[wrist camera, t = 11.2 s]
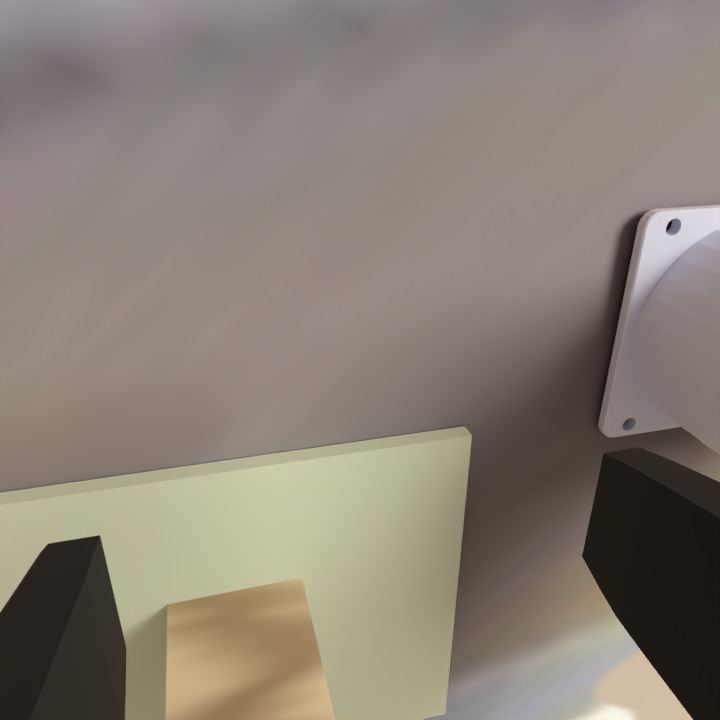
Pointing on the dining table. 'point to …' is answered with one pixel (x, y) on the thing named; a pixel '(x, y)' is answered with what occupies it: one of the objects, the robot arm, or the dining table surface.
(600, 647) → the dining table surface
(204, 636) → the birch block
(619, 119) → the dining table surface
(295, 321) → the dining table surface
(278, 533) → the felt mat
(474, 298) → the dining table surface
